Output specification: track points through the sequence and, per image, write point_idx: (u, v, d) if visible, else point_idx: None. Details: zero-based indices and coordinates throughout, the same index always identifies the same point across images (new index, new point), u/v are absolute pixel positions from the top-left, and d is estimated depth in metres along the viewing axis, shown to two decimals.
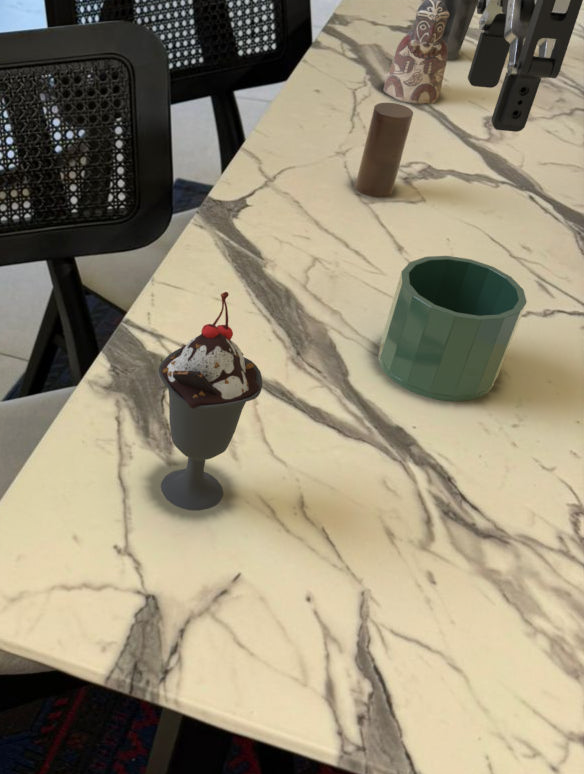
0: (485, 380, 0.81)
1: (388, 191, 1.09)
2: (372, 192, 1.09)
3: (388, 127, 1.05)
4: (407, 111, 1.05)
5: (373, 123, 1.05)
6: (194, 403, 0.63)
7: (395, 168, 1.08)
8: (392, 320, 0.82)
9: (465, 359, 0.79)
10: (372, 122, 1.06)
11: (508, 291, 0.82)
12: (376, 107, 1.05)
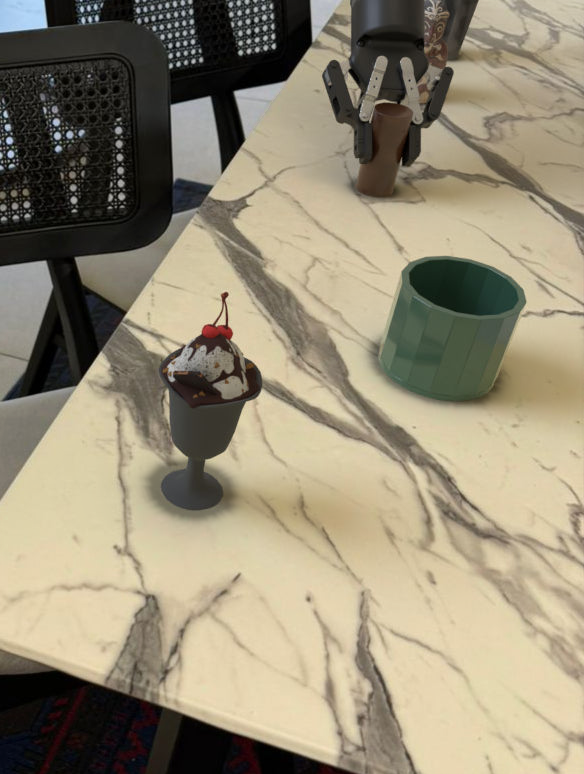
0: (485, 380, 0.81)
1: (388, 191, 1.09)
2: (372, 192, 1.09)
3: (388, 128, 1.04)
4: (407, 111, 1.05)
5: (373, 123, 1.05)
6: (194, 403, 0.63)
7: (395, 168, 1.08)
8: (392, 320, 0.82)
9: (465, 359, 0.79)
10: (372, 122, 1.06)
11: (508, 291, 0.82)
12: (376, 107, 1.05)
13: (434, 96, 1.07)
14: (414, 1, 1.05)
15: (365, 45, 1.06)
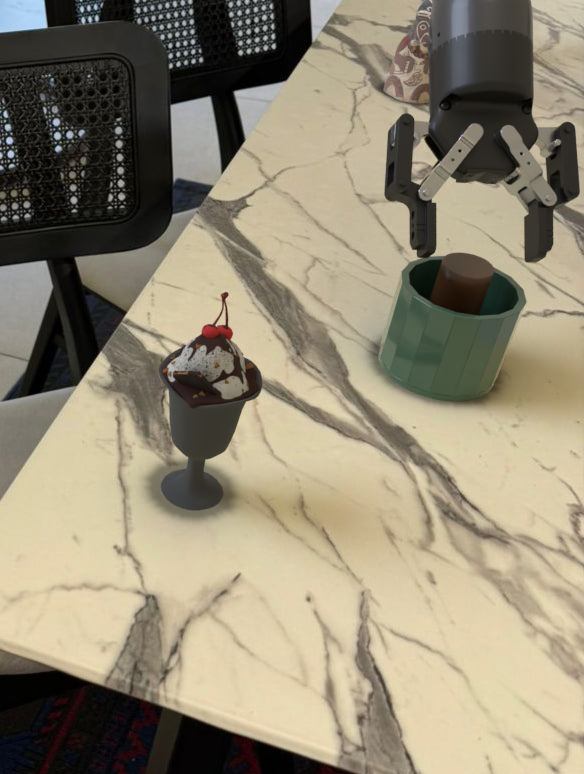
0: (485, 380, 0.81)
1: None
2: None
3: (462, 290, 0.79)
4: (486, 267, 0.79)
5: (441, 281, 0.80)
6: (194, 403, 0.63)
7: None
8: (392, 320, 0.82)
9: (465, 359, 0.79)
10: (439, 280, 0.80)
11: (508, 291, 0.82)
12: (445, 261, 0.80)
13: (563, 168, 0.77)
14: (521, 48, 0.75)
15: (451, 108, 0.77)
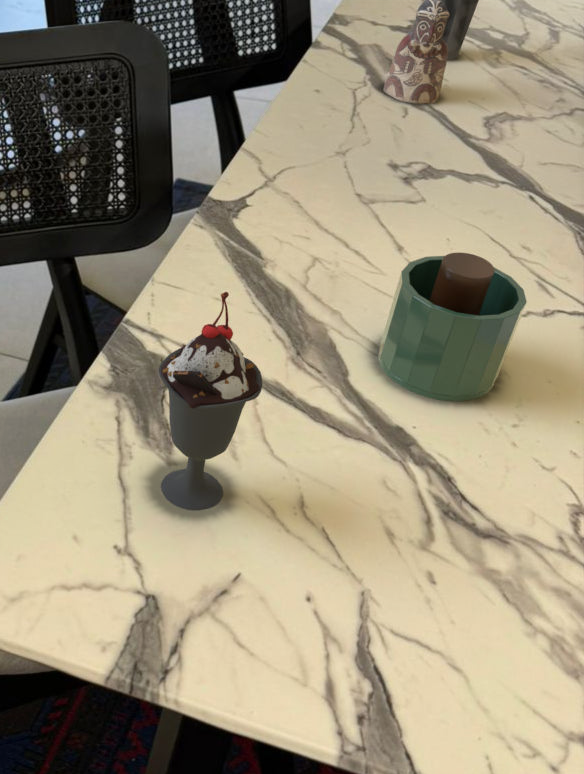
0: (485, 380, 0.81)
1: None
2: None
3: (462, 290, 0.79)
4: (486, 267, 0.79)
5: (441, 281, 0.80)
6: (194, 403, 0.63)
7: None
8: (392, 320, 0.82)
9: (465, 359, 0.79)
10: (439, 280, 0.80)
11: (508, 291, 0.82)
12: (445, 260, 0.80)
13: None
14: None
15: None
